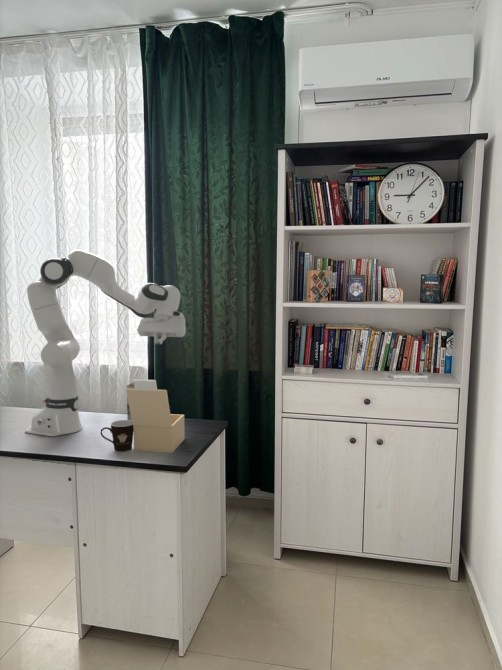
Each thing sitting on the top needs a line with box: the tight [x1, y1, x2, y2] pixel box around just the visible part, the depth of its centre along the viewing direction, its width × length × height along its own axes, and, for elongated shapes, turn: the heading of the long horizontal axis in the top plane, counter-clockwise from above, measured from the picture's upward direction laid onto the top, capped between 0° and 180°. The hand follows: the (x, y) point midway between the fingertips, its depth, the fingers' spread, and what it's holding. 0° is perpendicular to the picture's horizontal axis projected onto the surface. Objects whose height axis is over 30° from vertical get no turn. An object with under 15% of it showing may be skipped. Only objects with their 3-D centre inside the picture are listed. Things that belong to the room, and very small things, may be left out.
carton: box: [133, 413, 186, 453], centre depth 196 cm, size 15×16×10 cm
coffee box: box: [126, 382, 135, 421], centre depth 232 cm, size 9×6×16 cm
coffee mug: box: [100, 419, 134, 453], centre depth 192 cm, size 12×9×10 cm
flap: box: [125, 378, 172, 427], centre depth 183 cm, size 15×20×1 cm
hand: (157, 343), depth 209 cm, fingers closed
